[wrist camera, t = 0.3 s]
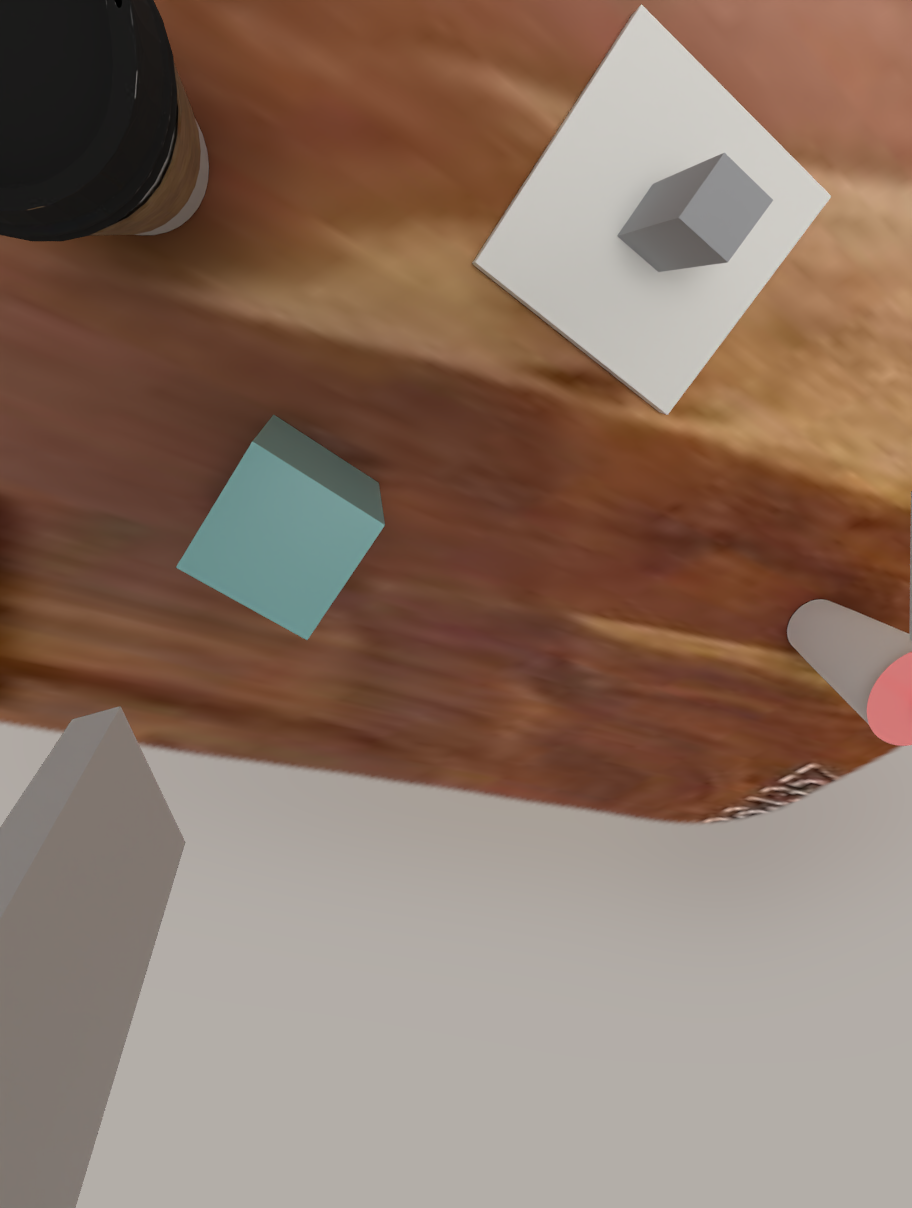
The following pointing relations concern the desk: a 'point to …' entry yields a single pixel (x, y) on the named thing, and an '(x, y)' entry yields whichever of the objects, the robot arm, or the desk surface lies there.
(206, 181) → the coffee cup
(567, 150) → the post stand
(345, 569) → the teal rectangular block
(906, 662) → the cup
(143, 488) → the desk surface
